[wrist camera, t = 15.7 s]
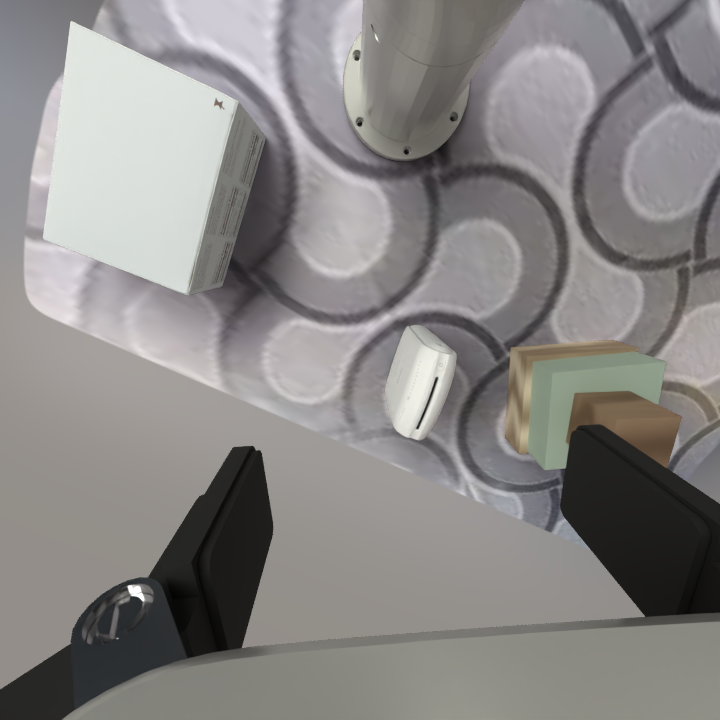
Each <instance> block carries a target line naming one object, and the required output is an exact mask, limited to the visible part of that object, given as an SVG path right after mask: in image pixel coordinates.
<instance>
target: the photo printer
mask: <svg viewBox="0 0 720 720" xmlns="http://www.w3.org/2000/svg"><path fill="white" fill-rule="evenodd" d="M456 361H457V354H456V353H455V352H454V351H453V350H452V349H451V348H450V347H448V346H447V345H446V344H445V343H444V342H443V341H441V340H440V339H439V338H438V337H437V336H436V335H435V334H433V333H432V332H430V331H429V330H428V329H427V328H426V327H424V326H421V325H413V326H410V327H409V326H407V327H406V329H405V331H404V333H403V335H402V337H401V340H400V342H399V345H398V348H397V351H396V354H395V357H394V360H393V363H392V366H391V369H390V373H389V376H388V379H387V383H386V388H385V397H386V401H387V404H388V408H389V412H390V416H391V420H392V423H393V426H394V428H395V429H396V430H397V431H398V432H399V433H400V434H401V435H403V436H405V437H407V438H413V439H416V440H422V439H424V438H425V437H426V436H427V435H428V434H429V432H430V431H431V429H432V428H433V426H434V425H435V423H436V421H437V419H438V417H439V415H440V413H441V411H442V408H443V406H444V403H445V401H446V398H447V396H448V393H449V390H450V387H451V384H452V381H453V377H454V373H455V368H456Z"/></svg>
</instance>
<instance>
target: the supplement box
mask: <svg viewBox="0 0 720 720" xmlns="http://www.w3.org/2000/svg"><path fill="white" fill-rule="evenodd" d="M265 140H266V136H265V135H264V134H263V132H262V131H261V130H260V129H259V127H258V126H257V125H256V123H255V122H254V121H253V119H252V118H251V117H250V115H249V114H248V113H247V112H246V110H245V109H244V108H243V106H242V105H241V104H240V102H239V101H237V100H235V99H233V98H231V97H229V96H228V95H226V94H224V93H222V92H219V91H217V90H215V89H213V88H211V87H209V86H207V85H205V84H203V83H200V82H198V81H196V80H194V79H192V78H190V77H188V76H186V75H183V74H181V73H179V72H177V71H175V70H173V69H171V68H169V67H166V66H164V65H162V64H160V63H158V62H156V61H154V60H152V59H150V58H147V57H145V56H143V55H141V54H139V53H137V52H135V51H133V50H131V49H129V48H127V47H125V46H123V45H120V44H118V43H116V42H114V41H112V40H110V39H108V38H106V37H104V36H102V35H100V34H98V33H96V32H93V31H91V30H89V29H87V28H85V27H83V26H80V25H78V24H76V23H74V22H71V23H70V31H69V40H68V47H67V55H66V63H65V71H64V79H63V87H62V94H61V102H60V110H59V118H58V126H57V133H56V141H55V149H54V157H53V164H52V172H51V180H50V187H49V195H48V203H47V211H46V218H45V225H44V233H43V240H46V241H49V242H51V243H54V244H56V245H59V246H61V247H64V248H66V249H69V250H72V251H74V252H77V253H79V254H82V255H84V256H87V257H90V258H92V259H95V260H98V261H100V262H103V263H105V264H108V265H111V266H113V267H116V268H118V269H121V270H124V271H126V272H129V273H131V274H134V275H136V276H139V277H141V278H144V279H146V280H149V281H151V282H153V283H156V284H158V285H161V286H163V287H166V288H168V289H171V290H173V291H176V292H179V293H181V294H184V295H186V296H189V295H193V294H196V293H200V292H203V291H207V290H211V289H216V288H221V287H222V286H223V283H224V280H225V277H226V273H227V270H228V266H229V263H230V259H231V256H232V253H233V249H234V246H235V242H236V239H237V235H238V232H239V228H240V225H241V222H242V218H243V215H244V211H245V208H246V204H247V201H248V198H249V194H250V191H251V187H252V184H253V181H254V177H255V174H256V170H257V167H258V163H259V160H260V157H261V153H262V150H263V147H264V143H265Z"/></svg>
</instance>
